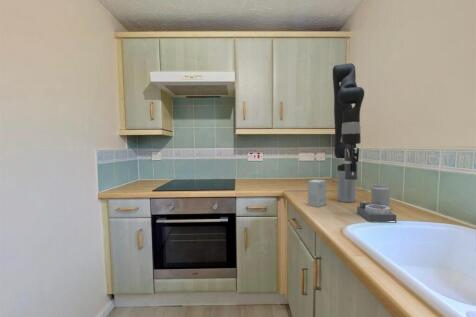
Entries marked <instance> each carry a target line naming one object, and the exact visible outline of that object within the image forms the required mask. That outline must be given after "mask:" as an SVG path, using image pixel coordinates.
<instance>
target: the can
mask: <svg viewBox="0 0 476 317" xmlns="http://www.w3.org/2000/svg"><path fill="white" fill-rule="evenodd" d="M390 191H391V189H390V187H389V185H388V184H382V183H379V184H378V183H373V184H372V187H371V202H379V203H381V204H382V205H384V206H388V207H390V204H391V202H390V200H391V199H390V198H391V196H390V194H391V192H390ZM390 208H391V207H390Z"/></svg>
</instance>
